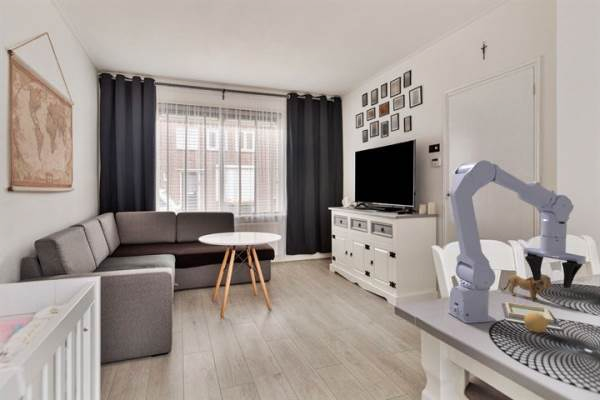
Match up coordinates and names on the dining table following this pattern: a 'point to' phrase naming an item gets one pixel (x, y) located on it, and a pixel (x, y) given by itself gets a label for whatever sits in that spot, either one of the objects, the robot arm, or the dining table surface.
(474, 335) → the dining table surface
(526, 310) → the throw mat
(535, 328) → the ball
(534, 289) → the lion figurine
